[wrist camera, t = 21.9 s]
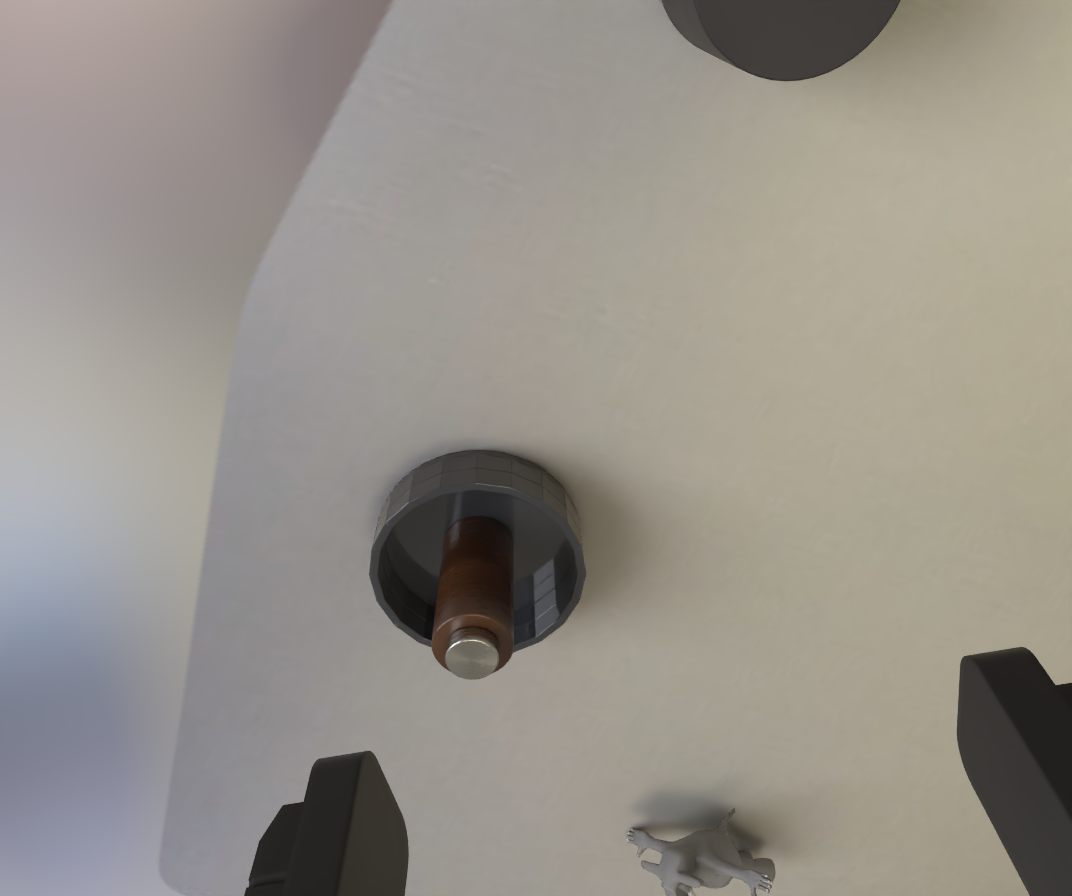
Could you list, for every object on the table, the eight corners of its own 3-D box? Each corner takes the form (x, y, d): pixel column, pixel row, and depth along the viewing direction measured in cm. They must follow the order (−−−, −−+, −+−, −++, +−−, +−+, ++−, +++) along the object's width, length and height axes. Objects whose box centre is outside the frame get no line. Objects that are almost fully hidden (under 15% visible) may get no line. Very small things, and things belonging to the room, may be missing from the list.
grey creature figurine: (683, 892, 57) (591, 885, 51) (700, 795, 59) (612, 778, 53) (826, 947, 50) (736, 946, 44) (840, 835, 51) (755, 820, 46)
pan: (337, 538, 43) (325, 576, 40) (476, 410, 40) (474, 442, 37) (482, 646, 46) (481, 687, 44) (622, 536, 43) (628, 574, 41)
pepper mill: (428, 544, 43) (412, 660, 36) (477, 502, 42) (470, 613, 35) (479, 584, 44) (473, 703, 37) (528, 544, 43) (531, 659, 36)
